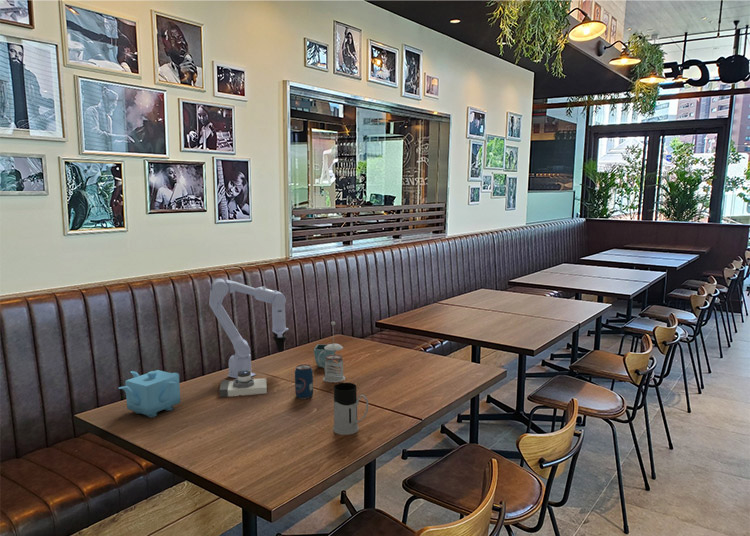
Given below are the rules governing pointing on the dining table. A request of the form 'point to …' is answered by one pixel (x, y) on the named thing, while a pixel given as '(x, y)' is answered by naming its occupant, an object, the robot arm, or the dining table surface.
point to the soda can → (303, 381)
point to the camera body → (242, 387)
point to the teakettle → (152, 392)
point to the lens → (244, 377)
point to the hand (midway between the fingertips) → (279, 349)
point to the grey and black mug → (346, 408)
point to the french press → (333, 374)
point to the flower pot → (322, 354)
